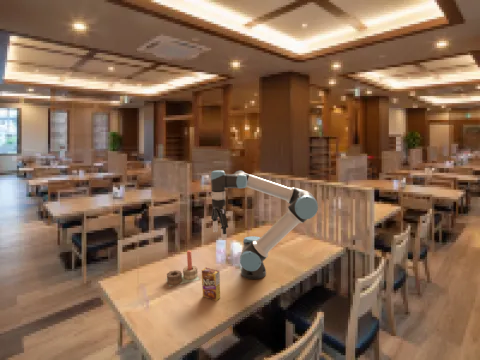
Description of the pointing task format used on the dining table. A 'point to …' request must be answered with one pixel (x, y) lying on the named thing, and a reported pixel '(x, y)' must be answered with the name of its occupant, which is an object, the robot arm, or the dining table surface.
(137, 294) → the dining table surface
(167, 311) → the dining table surface
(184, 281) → the felt mat
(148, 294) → the dining table surface
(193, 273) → the beech bead
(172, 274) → the walnut bead
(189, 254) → the needle
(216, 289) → the candy box
